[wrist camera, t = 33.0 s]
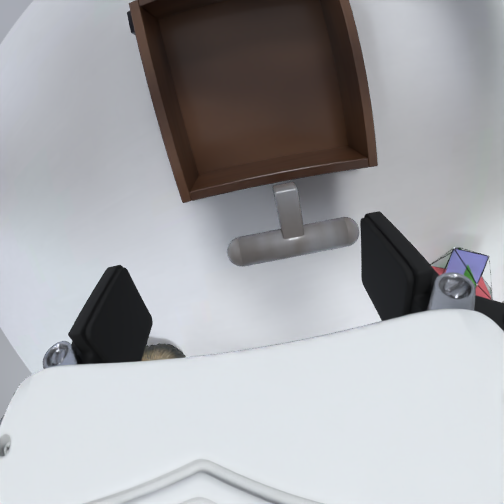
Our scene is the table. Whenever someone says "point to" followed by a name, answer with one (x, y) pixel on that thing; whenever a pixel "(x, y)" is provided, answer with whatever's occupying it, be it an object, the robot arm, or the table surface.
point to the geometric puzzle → (468, 269)
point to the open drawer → (259, 106)
